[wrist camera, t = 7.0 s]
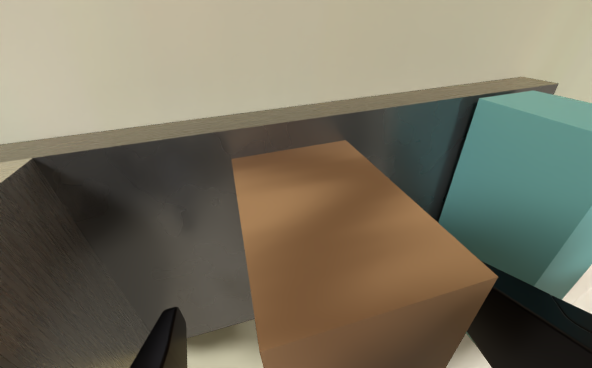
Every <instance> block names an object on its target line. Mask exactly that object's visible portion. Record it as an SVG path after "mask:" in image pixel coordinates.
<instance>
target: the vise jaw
mask: <svg viewBox="0 0 592 368" xmlns="http://www.w3.org/2000/svg"><path fill="white" fill-rule="evenodd" d="M438 223H439V224H440V225H441V226H442V227H443V228H444V229H446V230H447V231H448V232H449V233H450V234H451V235H452V236H453V237H455V238H456V239H457V240H458V241H459V242H460V243H461V244H462V245H463V246H465V247H466V248H467V249H468V250H469V251H470V252H471V253H472V254H474V255H475V256H476V257H477V258H478V259H479V260H481V261H483V262H485V263H487V264H489V265H491V266H493V267H495V268H497V269H499V270H501V271H503V272H505V273H508V274H510V275H512V276H514V277H516V278H518V279H520V280H522V281H524V282H526V283H528V284H530V285H532V286H534V287H536V288H538V289H540V290H543V291H545V292H547V293H549V294H550V295H553V296H555V297H557V298H559V299H561V300H562V299H563V298H564V297H565V295H566V294H567V293H568V292H569V291H570V290H571V288H572V287H573V286H574V285H575V284H576V283H577V281H578V280H579V279H580V278H581V277H582V276H583V274H584V273H585V272H586V271H587V270H588V268H589V267H590V266H591V265H592V103H588V102H583V101H579V100H574V99H570V98H565V97H561V96H556V95H552V94H547V93H543V92H538V91H534V90H533V91H526V92H519V93H513V94H506V95H499V96H492V97H485V98H479V101H478V104H477V107H476V110H475V113H474V116H473V119H472V122H471V125H470V128H469V131H468V134H467V137H466V140H465V143H464V146H463V149H462V152H461V155H460V158H459V161H458V164H457V167H456V170H455V173H454V176H453V180H452V183H451V186H450V189H449V192H448V195H447V198H446V201H445V204H444V207H443V210H442V213H441V216H440V219H439V222H438ZM466 334H467V335H468V336H469V334H468V333H467V332H466ZM469 337H470V336H469ZM470 338H471V337H470ZM471 340H472V339H471ZM472 341H473V340H472ZM475 345H476V344H475Z"/></svg>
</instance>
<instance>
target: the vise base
mask: <svg viewBox="0 0 592 368" xmlns="http://www.w3.org/2000/svg"><path fill="white" fill-rule="evenodd" d="M557 86H558V83H553V82H547V81H542V80H536V79H531V78H526V77H518V78H510V79H503V80H495V81H487V82H480V83H472V84H464V85H456V86H449V87H441V88H433V89H426V90H418V91H410V92H403V93H395V94H387V95H380V96H372V97H364V98H357V99H349V100H341V101H333V102H326V103H318V104H310V105H303V106H295V107H287V108H280V109H272V110H264V111H257V112H249V113H241V114H233V115H226V116H218V117H210V118H203V119H195V120H187V121H180V122H172V123H164V124H157V125H149V126H141V127H134V128H126V129H118V130H110V131H103V132H95V133H87V134H80V135H72V136H64V137H57V138H49V139H41V140H34V141H26V142H18V143H10V144H3V145H0V368H130V366H131V364H132V363H133V361H134V359H135V357H136V356H137V354H138V352H139V351H140V349H141V347H142V346H143V344H144V342H145V341H146V339H147V337H148V335H149V334H150V332H151V330H152V329H153V327H154V325H155V324H156V322H157V320H158V318H159V317H160V315H161V313H162V312H163V311H164V310H165V309H168V308H172V307H178V308H179V309H180V311H181V313H182V315H183V317H184V319H185V321H186V329H187V338H189V337H193V336H196V335H200V334H203V333H207V332H210V331H214V330H217V329H221V328H224V327H228V326H231V325H235V324H238V323H242V322H245V321H248V320H252V319H255V317H254V310H253V303H252V296H251V289H250V283H249V276H248V269H247V262H246V255H245V249H244V242H243V235H242V228H241V222H240V215H239V208H238V201H237V194H236V188H235V181H234V174H233V167H232V160H231V159H234V158H240V157H246V156H252V155H258V154H265V153H271V152H277V151H283V150H289V149H295V148H301V147H307V146H313V145H319V144H325V143H331V142H338V141H344V140H346V141H347V142H348V143H350V144H351V145H352V146H353V147H354V148H355V149H356V150H357V151H359V152H360V153H361V154H362V155H363V156H364V157H365V158H366V159H367V160H369V161H370V162H371V163H372V164H373V165H374V166H375V167H376V168H377V169H379V170H380V171H381V172H382V173H383V174H384V175H385V176H386V177H388V178H389V179H390V180H391V181H392V182H393V183H394V184H395V185H396V186H398V187H399V188H400V189H401V190H402V191H403V192H404V193H405V194H407V195H408V196H409V197H410V198H411V199H412V200H413V201H414V202H415V203H417V204H418V205H419V206H420V207H421V208H422V209H423V210H424V211H426V212H427V213H428V214H429V215H430V216H431V217H432V218H433V219H434V220H436V221H437V222H439V219H440V216H441V213H442V210H443V207H444V204H445V201H446V198H447V195H448V192H449V189H450V186H451V183H452V180H453V176H454V173H455V170H456V167H457V164H458V161H459V158H460V155H461V152H462V149H463V146H464V143H465V140H466V137H467V134H468V131H469V128H470V125H471V122H472V119H473V116H474V113H475V110H476V107H477V104H478V101H479V98H485V97H492V96H499V95H506V94H513V93H519V92H526V91H533V90H534V91H538V92H543V93H547V94H552V95H553V94H554V92H555V90H556V88H557Z"/></svg>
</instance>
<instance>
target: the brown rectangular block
mask: <svg viewBox="0 0 592 368" xmlns="http://www.w3.org/2000/svg"><path fill="white" fill-rule="evenodd" d="M231 160H232V167H233V174H234V181H235V188H236V194H237V201H238V208H239V215H240V222H241V228H242V235H243V242H244V249H245V255H246V262H247V269H248V276H249V283H250V289H251V296H252V303H253V310H254V317H255V323H256V330H257V337H258V344H259V350H260V355H261V359H262V363H263V367H264V368H446V366H447V364H448V363H449V361H450V359H451V358H452V356H453V354H454V352H455V351H456V349H457V347H458V346H459V344H460V342H461V340H462V339H463V337H464V335H465V333H466V332H467V330H468V328H469V327H470V325H471V323H472V321H473V320H474V318H475V316H476V315H477V313H478V311H479V309H480V308H481V306H482V304H483V302H484V301H485V299H486V297H487V296H488V294H489V292H490V290H491V289H492V287H493V285H494V284H495V282H496V280H497V278H498V276H497V275H496V274H495V273H494V272H492V271H491V270H490V269H489V268H488V267H487V266H486V265H485V264H484V263H482V262H481V261H480V260H479V259H478V258H477V257H476V256H475V255H474V254H472V253H471V252H470V251H469V250H468V249H467V248H466V247H465V246H463V245H462V244H461V243H460V242H459V241H458V240H457V239H456V238H455V237H453V236H452V235H451V234H450V233H449V232H448V231H447V230H446V229H444V228H443V227H442V226H441V225H440V224H439V223H438V222H437V221H436V220H434V219H433V218H432V217H431V216H430V215H429V214H428V213H427V212H426V211H424V210H423V209H422V208H421V207H420V206H419V205H418V204H417V203H415V202H414V201H413V200H412V199H411V198H410V197H409V196H408V195H407V194H405V193H404V192H403V191H402V190H401V189H400V188H399V187H398V186H396V185H395V184H394V183H393V182H392V181H391V180H390V179H389V178H388V177H386V176H385V175H384V174H383V173H382V172H381V171H380V170H379V169H377V168H376V167H375V166H374V165H373V164H372V163H371V162H370V161H369V160H367V159H366V158H365V157H364V156H363V155H362V154H361V153H360V152H359V151H357V150H356V149H355V148H354V147H353V146H352V145H351V144H350V143H348V142H347V141H346V140H344V141H338V142H331V143H325V144H319V145H313V146H307V147H301V148H295V149H289V150H283V151H277V152H271V153H265V154H258V155H252V156H246V157H240V158H234V159H231Z"/></svg>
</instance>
